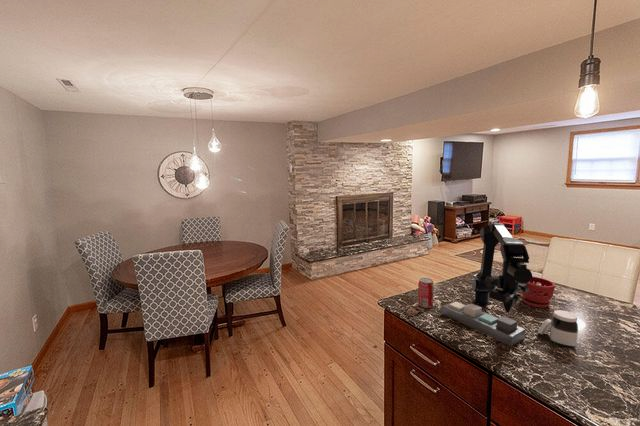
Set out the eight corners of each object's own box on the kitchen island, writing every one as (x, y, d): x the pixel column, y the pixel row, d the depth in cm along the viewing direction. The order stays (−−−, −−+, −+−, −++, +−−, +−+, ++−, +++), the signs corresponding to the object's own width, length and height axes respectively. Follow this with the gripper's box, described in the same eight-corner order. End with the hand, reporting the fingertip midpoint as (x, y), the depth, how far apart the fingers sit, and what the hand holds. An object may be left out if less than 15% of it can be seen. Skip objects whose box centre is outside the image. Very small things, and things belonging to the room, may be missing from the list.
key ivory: (455, 310, 138) (456, 301, 138) (465, 314, 134) (466, 305, 134) (449, 313, 136) (449, 304, 135) (459, 317, 132) (459, 308, 131)
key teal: (485, 323, 127) (486, 313, 126) (497, 328, 122) (498, 318, 122) (478, 326, 124) (479, 316, 123) (490, 331, 120) (491, 321, 119)
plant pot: (523, 307, 142) (525, 283, 141) (516, 296, 154) (518, 274, 153) (556, 312, 137) (559, 287, 136) (547, 300, 150) (549, 277, 148)
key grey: (470, 312, 132) (470, 303, 132) (481, 317, 128) (481, 307, 127) (463, 315, 130) (464, 306, 129) (474, 320, 125) (475, 310, 125)
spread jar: (577, 352, 107) (581, 322, 105) (539, 343, 113) (542, 314, 111) (571, 337, 117) (575, 309, 115) (536, 329, 123) (539, 302, 121)
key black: (502, 326, 120) (503, 316, 120) (516, 331, 116) (517, 321, 116) (496, 329, 118) (497, 319, 117) (509, 335, 114) (510, 325, 113)
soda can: (434, 309, 141) (435, 283, 139) (418, 308, 143) (419, 282, 141) (431, 303, 148) (433, 278, 146) (416, 301, 149) (417, 277, 148)
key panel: (455, 308, 141) (455, 300, 141) (524, 338, 116) (525, 329, 116) (441, 314, 136) (442, 306, 136) (511, 346, 111) (512, 336, 110)
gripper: (501, 264, 125) (499, 299, 128) (476, 272, 116) (473, 309, 118) (531, 271, 116) (528, 309, 118) (506, 281, 106) (503, 321, 109)
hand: (507, 312), depth 116 cm, fingers closed
